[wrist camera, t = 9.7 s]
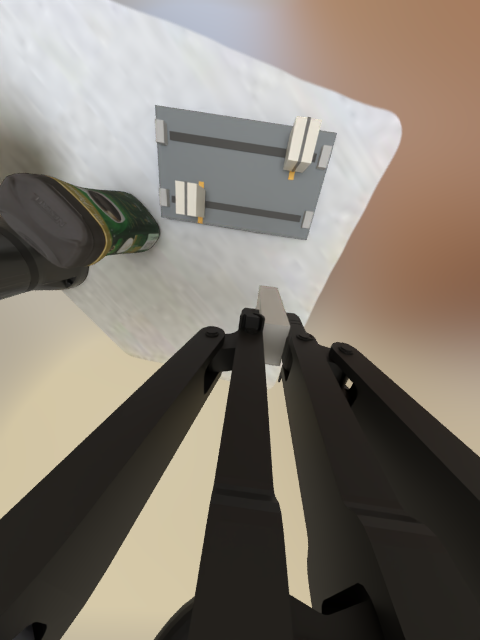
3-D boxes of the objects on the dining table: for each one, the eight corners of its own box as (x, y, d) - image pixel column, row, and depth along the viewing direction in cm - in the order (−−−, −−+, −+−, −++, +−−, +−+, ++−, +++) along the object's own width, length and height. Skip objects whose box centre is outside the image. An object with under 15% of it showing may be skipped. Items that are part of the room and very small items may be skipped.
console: (166, 217, 34) (158, 217, 32) (161, 112, 28) (150, 100, 25) (303, 239, 34) (308, 240, 31) (331, 138, 28) (340, 129, 25)
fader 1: (187, 215, 32) (175, 213, 27) (187, 186, 30) (175, 179, 25) (204, 217, 32) (195, 217, 27) (205, 189, 30) (196, 183, 25)
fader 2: (282, 170, 28) (287, 160, 24) (289, 133, 26) (296, 115, 22) (302, 173, 28) (311, 163, 24) (310, 137, 26) (322, 119, 22)
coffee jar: (103, 216, 35) (-30, 210, 19) (127, 184, 32) (-5, 144, 16) (143, 258, 38) (58, 284, 22) (168, 232, 36) (92, 240, 19)
